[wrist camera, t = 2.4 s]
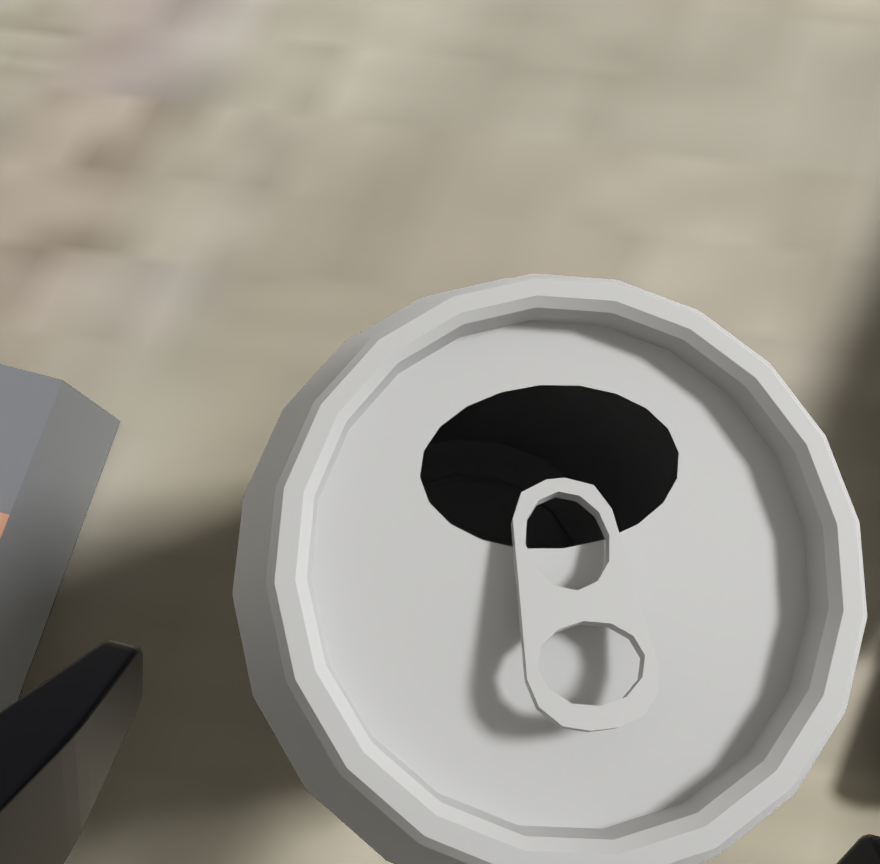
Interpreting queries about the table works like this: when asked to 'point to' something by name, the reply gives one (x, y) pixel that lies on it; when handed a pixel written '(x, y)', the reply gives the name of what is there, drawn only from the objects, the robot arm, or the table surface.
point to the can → (549, 580)
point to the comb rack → (41, 504)
